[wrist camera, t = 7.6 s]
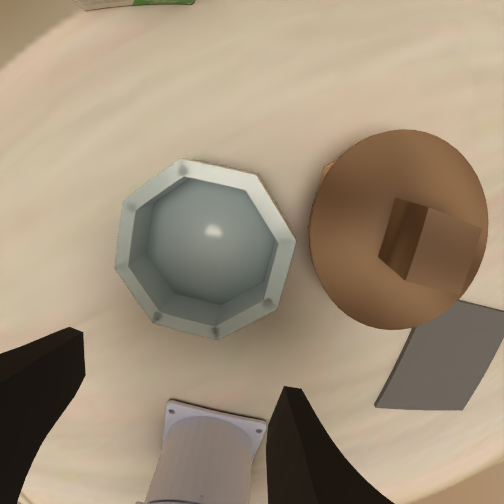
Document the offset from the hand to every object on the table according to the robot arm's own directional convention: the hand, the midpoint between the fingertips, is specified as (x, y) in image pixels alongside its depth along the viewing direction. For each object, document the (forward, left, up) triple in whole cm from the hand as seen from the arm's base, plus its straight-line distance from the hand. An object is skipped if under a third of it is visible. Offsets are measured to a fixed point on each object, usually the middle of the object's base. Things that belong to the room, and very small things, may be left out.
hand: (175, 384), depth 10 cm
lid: (+6, -9, -7) cm, 13 cm away
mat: (-3, -19, -10) cm, 22 cm away
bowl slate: (+2, +1, -10) cm, 11 cm away
